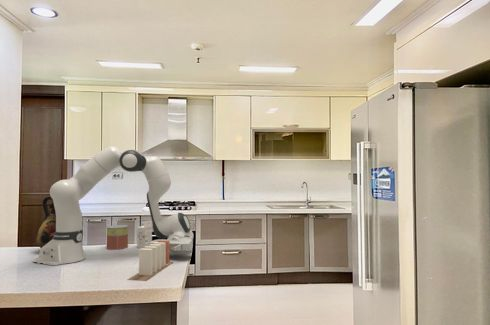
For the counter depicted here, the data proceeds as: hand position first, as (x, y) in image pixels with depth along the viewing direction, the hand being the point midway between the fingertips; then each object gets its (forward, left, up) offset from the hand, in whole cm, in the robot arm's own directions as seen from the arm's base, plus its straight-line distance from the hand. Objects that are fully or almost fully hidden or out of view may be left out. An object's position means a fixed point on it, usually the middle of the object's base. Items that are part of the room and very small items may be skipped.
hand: (163, 248), depth 139 cm
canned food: (-42, +30, -8) cm, 52 cm away
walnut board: (0, -10, -8) cm, 13 cm away
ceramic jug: (-72, +16, -8) cm, 74 cm away
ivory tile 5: (0, -16, -6) cm, 18 cm away
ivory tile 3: (0, -8, -6) cm, 10 cm away
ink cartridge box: (-28, +35, -8) cm, 45 cm away
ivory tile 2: (0, -4, -6) cm, 8 cm away
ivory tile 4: (0, -12, -6) cm, 14 cm away
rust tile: (0, 0, -6) cm, 6 cm away
